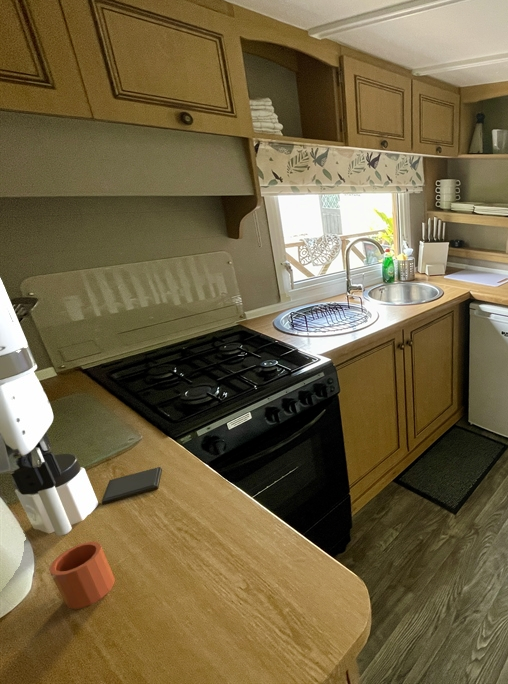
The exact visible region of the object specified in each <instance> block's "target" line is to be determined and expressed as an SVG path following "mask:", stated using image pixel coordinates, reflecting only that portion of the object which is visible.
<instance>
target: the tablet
mask: <svg viewBox="0 0 508 684" xmlns="http://www.w3.org/2000/svg"><path fill="white" fill-rule="evenodd" d="M162 472H163V468H162V466H158V467H154V468H150V469H147V470H142V471H139V472H135V473H132V474H127V475H124V476H123V475H122V476H119V477H116V478H112V479H109V481H108V483H107V486H106V488H105V491H104V493H103V497H102V499H101V504H102V505H103V506H104V505H108V504H111V503H114V502H117V501H118V502H119V501H120V500H121V501H122V500H125V499H128V498H131V497H135V496H139V495H141V494H142V495H143V494H145V493H149V492H153V491H156V490H158V489H159V487H160V481H161V477H162Z"/></svg>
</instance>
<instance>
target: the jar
mask: <svg viewBox="0 0 508 684" xmlns="http://www.w3.org/2000/svg"><path fill="white" fill-rule="evenodd" d="M54 456H55V458H56V461H57V463H58V465H59V468H60V470H61V475H60V476H59V477H57V478H54V480H55V482H56V484H55V488H56V490H57V493H58V495H59V498H60V500H61V503H62V505H63V508H64V510H65V513H66V515H67V518H68V520H69V522H70V525H71V526H72V525H76V524H79V523H81V522H83V521H84V520H85V519H86V518H87V517H88V515H91V514H92V513H93V511H95V509H96V508H97V507H98V506H99V505H100V503H99V501H98V499H97V495H96V494H95V491H94V489H93V486H92V484H91V481H90V479H89V476H88V473H87V471H86V468H84V467H81V465H80V463H79V460H78V458H77V456H76V455H75V454H72V453H61V454H60V453H59V454H54ZM12 481H13V486H14V487H15V490H14V493H15V495H16V497H17V498H18V500H19V503H20V504H21V506H22V508H23V510H24V512H25V514H26V516H27V518H28V521H29V523H30V524H31V526H32V528H33V529H34V530H38V531H40V532H42V533H46V534H48V535H49V534H52V533H55V531H54V528H53V526H52V524H51V521H50V519H49V517H48V514H47V512H46V510H45V507H44V505H43V503H42V500H41V498H40V496H39V493H38V492H34V493H30V494H26V495H23V494H21V493H20V491H19V489H18V487H17V485H16V483H15V481H14V479H13V478H12Z"/></svg>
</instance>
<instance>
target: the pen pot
mask: <svg viewBox="0 0 508 684" xmlns="http://www.w3.org/2000/svg"><path fill="white" fill-rule="evenodd" d="M48 570H49V573H50V575H51V577H52V579H53V582H54V584H55V585H56V587H57V590H58V592H59V593H60V596H61V597H62V599H63V602H64V603H65V606H66V607H67V608H69V609H72V610H80V609H83V608H86V607H89V606H91V605H93V604H95V603H97V602H98V601H99V600H101V599H102V598H103V597H105V596H106V595H107V594H108V593H109V592H110V591H111V590H112V589H113V587H114V585H115V581H116V577H115V576H114V575H115V574H114V573H113V570H112V568H111V566H110V563H109V561H108V559H107V556H106V553H105V552H104V549H103V547H102V545H101V543H100V542H97V541H86V542H83V543H79V544H76V545H74V546H73V547H70V548H68V549H66V550H65V551H63V552H62V553H61V554H59V555H58V556H57V557H56V558H55V559H54V560H53V561H52V562H51V564H50V566H49V568H48Z"/></svg>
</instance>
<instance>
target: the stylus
mask: <svg viewBox="0 0 508 684" xmlns="http://www.w3.org/2000/svg"><path fill="white" fill-rule="evenodd" d="M36 450H37V452H38V454H39V456H40V458H41V461H42V462H45V461H44V458H43V456H42V454H41V451H40V449H39V448H36ZM22 456H23V457H27V455H22ZM27 458H28V457H27ZM38 493H39V496H40V498H41V500H42V503H43V505H44V507H45V510H46V512H47V514H48V517H49V519H50V521H51V524H52V526H53V528H54V531H55V532H54V533H55V535H56V536H58V537H62V536H66V535H67V534H69V533H70V532H71V531H72V529H73V528H72V525H70V522H69V520H68V518H67V515H66V513H65V510H64V508H63V505H62V503H61V500H60V498H59V495H58V493H57V490H56V488H55V486H54V487H53V488H49V489H45V490H42V491H38Z"/></svg>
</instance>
